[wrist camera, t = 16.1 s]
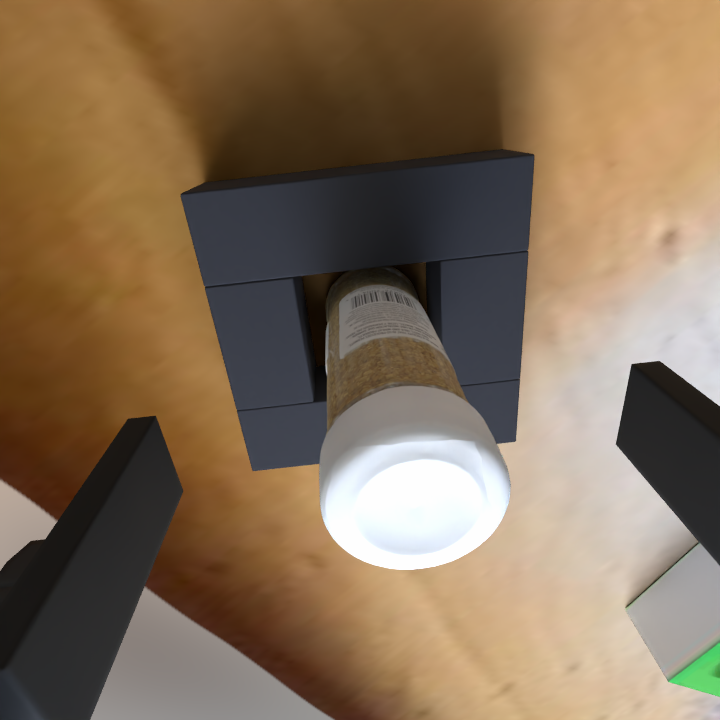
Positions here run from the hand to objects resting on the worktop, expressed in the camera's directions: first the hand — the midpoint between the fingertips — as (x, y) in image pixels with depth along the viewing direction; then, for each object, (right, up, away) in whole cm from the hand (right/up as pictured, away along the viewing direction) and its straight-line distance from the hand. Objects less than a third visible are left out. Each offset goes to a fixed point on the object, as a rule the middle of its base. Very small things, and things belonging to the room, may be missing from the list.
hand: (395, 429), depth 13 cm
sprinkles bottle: (0, +5, +10) cm, 11 cm away
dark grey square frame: (-1, +5, +9) cm, 11 cm away
